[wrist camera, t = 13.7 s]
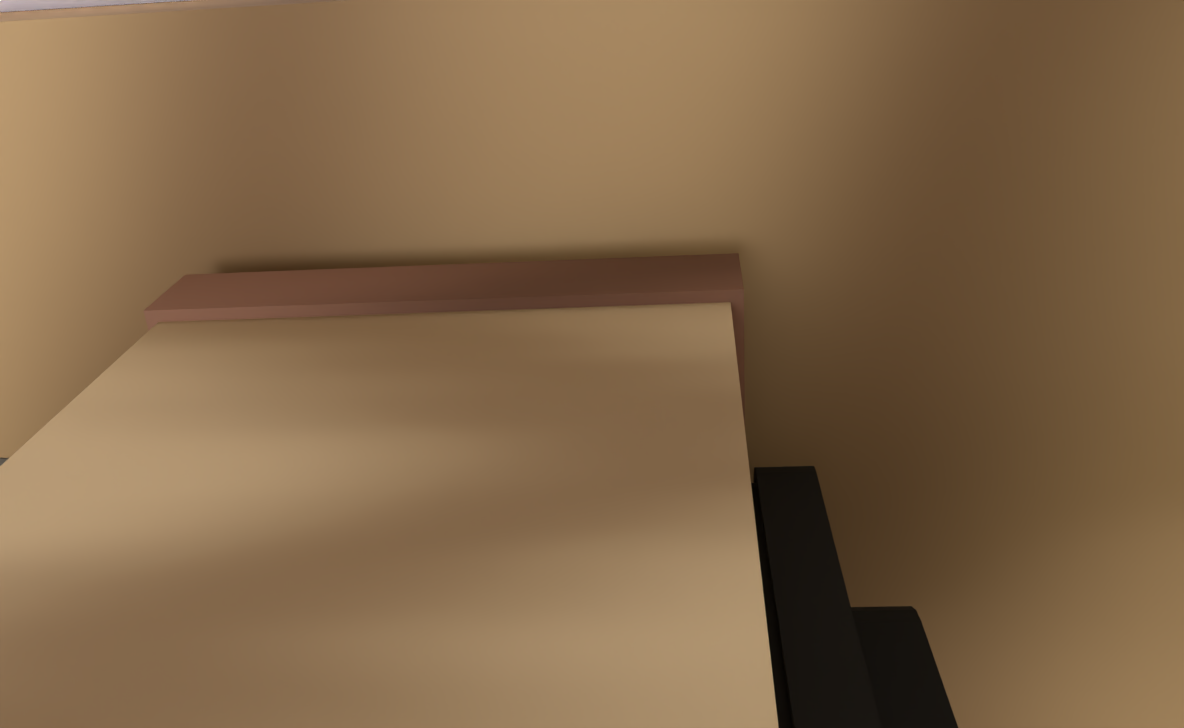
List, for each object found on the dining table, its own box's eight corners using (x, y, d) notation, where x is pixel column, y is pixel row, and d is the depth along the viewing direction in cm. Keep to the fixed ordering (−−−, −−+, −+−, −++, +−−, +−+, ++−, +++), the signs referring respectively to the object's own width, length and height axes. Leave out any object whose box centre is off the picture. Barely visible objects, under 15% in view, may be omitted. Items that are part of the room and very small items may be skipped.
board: (1371, -73, 9) (1468, -69, 8) (1175, 877, 13) (1220, 967, 12) (-743, 57, 11) (-904, 77, 10) (-311, 865, 15) (-389, 942, 14)
